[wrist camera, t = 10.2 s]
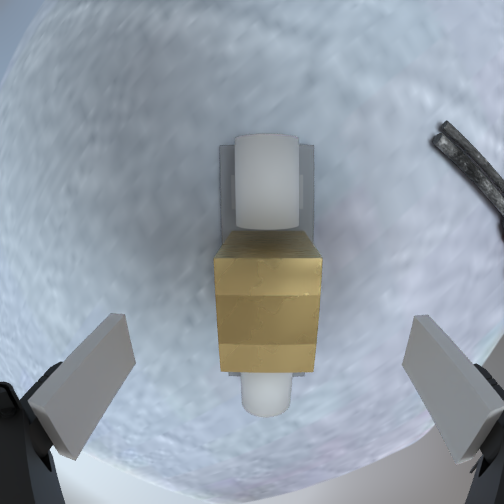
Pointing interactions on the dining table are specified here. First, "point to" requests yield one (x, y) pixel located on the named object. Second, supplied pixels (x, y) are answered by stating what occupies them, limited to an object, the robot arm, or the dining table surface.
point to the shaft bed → (266, 225)
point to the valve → (471, 164)
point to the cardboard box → (267, 301)
